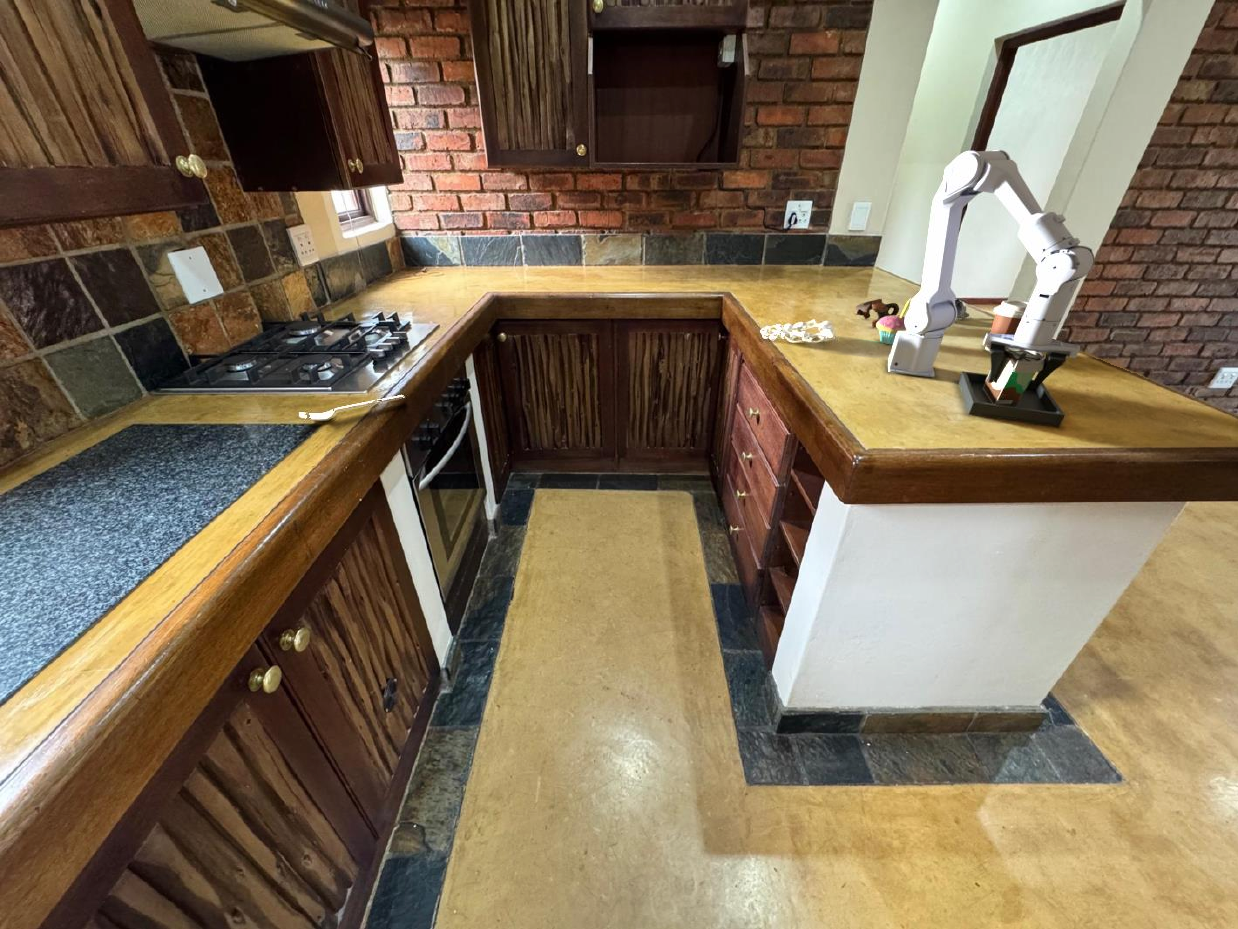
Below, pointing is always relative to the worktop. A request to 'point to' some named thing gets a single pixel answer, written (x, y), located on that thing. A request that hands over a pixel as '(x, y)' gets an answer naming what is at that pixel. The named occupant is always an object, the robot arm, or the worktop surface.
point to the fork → (332, 413)
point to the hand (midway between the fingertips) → (1011, 384)
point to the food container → (1013, 376)
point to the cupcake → (891, 326)
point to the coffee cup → (1008, 317)
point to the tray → (1028, 409)
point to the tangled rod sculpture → (804, 336)
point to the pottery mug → (876, 310)
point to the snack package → (961, 309)
